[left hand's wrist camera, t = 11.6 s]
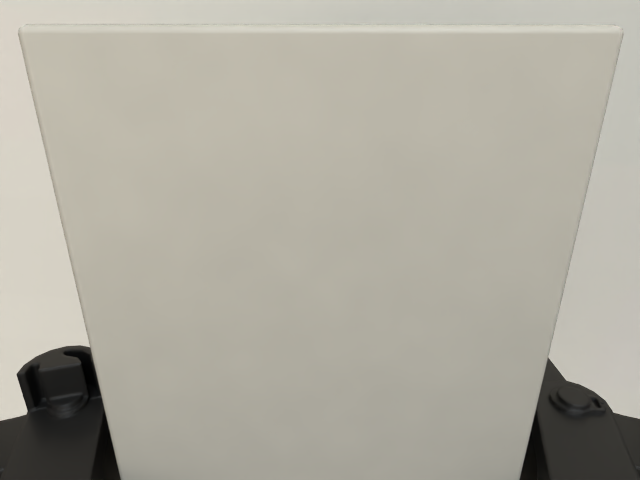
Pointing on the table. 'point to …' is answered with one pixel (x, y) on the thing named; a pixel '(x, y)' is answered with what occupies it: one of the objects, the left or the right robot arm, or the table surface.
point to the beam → (320, 236)
